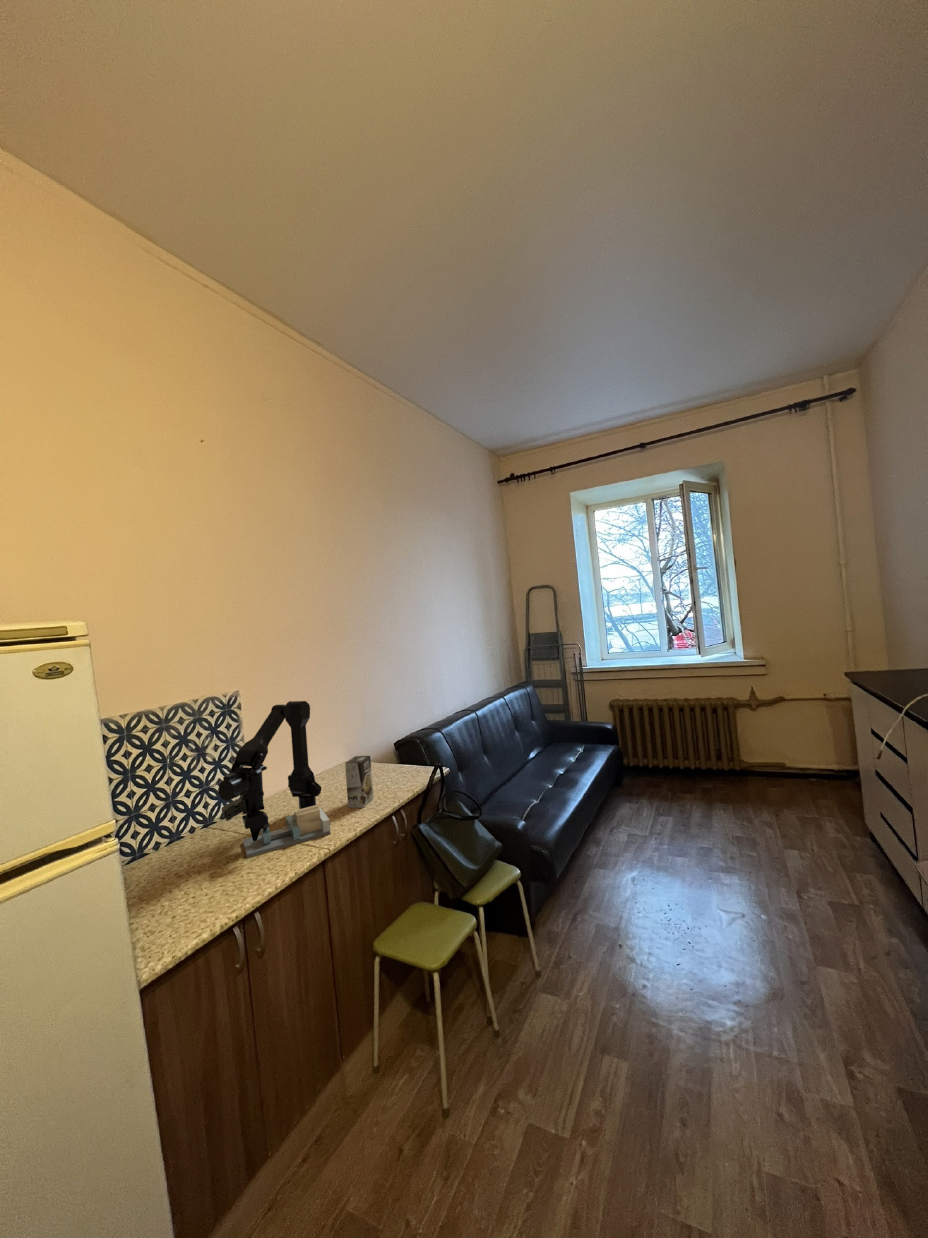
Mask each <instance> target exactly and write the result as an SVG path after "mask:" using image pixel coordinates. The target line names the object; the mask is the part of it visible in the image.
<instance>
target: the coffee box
mask: <svg viewBox="0 0 928 1238" xmlns="http://www.w3.org/2000/svg"><path fill="white" fill-rule="evenodd" d="M371 759H372V757H371V755H356V756H354V757H351V759H349V760H348V761H346V762H345V763H344V767H345V782H346V795H347V807H348V808H352V809H353V808H356V809H359V808H361V809H363V808H365V807H366V806H367V805H368V804H369V803H370V802H371V801H372V800H373V799H374V789H373V788H374V787H373V785H374V784H373V775H372V773H373V772H372V760H371Z"/></svg>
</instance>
